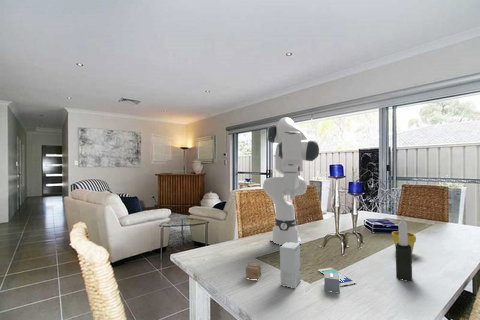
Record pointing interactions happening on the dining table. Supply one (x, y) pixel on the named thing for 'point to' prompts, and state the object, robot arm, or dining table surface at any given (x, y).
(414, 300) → the dining table surface
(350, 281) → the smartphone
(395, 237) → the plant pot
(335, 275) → the slate block
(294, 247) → the skincare box
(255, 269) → the walnut block
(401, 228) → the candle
